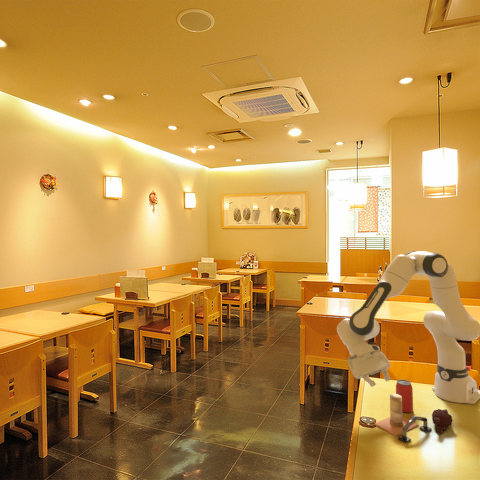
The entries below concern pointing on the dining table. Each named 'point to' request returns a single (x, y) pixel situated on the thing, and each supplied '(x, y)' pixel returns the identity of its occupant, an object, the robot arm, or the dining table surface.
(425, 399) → the dining table surface
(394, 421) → the birch post
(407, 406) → the beer can
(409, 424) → the bent metal handle
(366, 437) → the dining table surface
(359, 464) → the dining table surface
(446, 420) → the icecream
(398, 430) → the tile
